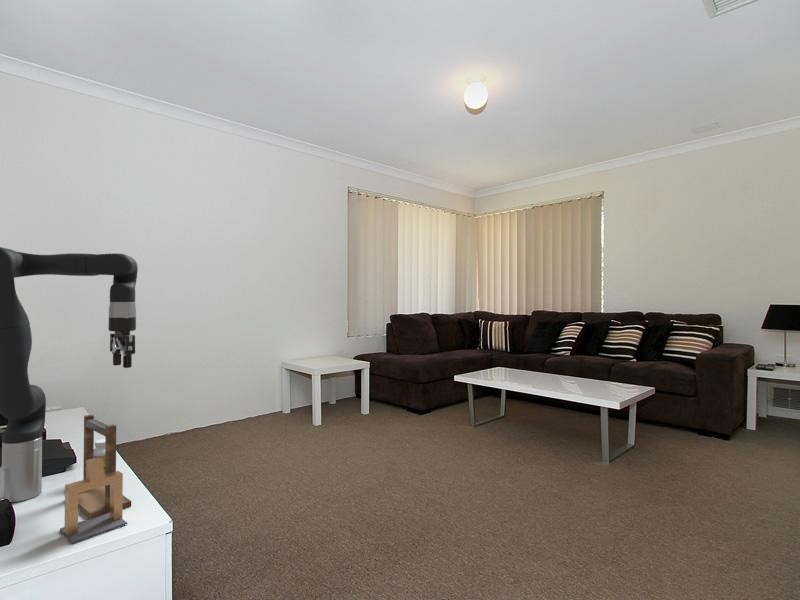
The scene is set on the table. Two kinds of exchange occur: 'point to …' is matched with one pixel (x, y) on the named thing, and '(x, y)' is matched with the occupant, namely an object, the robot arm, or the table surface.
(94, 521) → the mat
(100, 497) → the stand
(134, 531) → the table surface
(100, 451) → the supplement bottle
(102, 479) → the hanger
